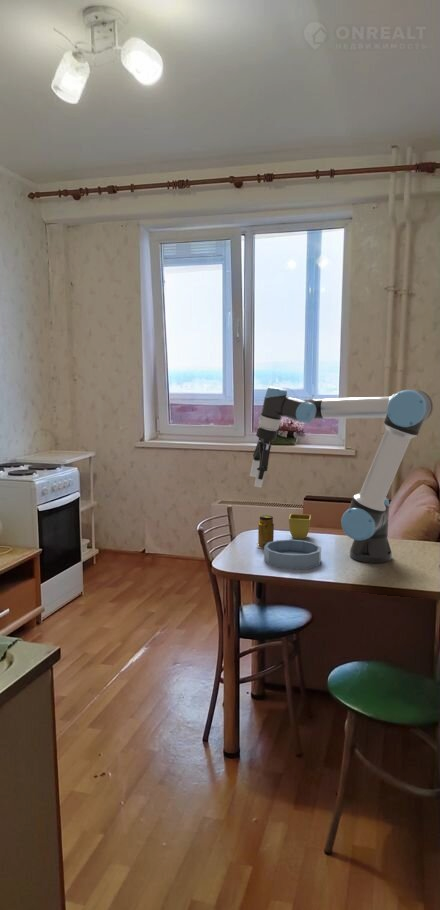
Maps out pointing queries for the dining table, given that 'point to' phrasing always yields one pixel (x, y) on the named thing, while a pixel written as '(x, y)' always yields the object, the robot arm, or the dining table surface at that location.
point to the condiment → (265, 530)
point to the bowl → (292, 554)
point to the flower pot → (299, 525)
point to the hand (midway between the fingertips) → (255, 481)
